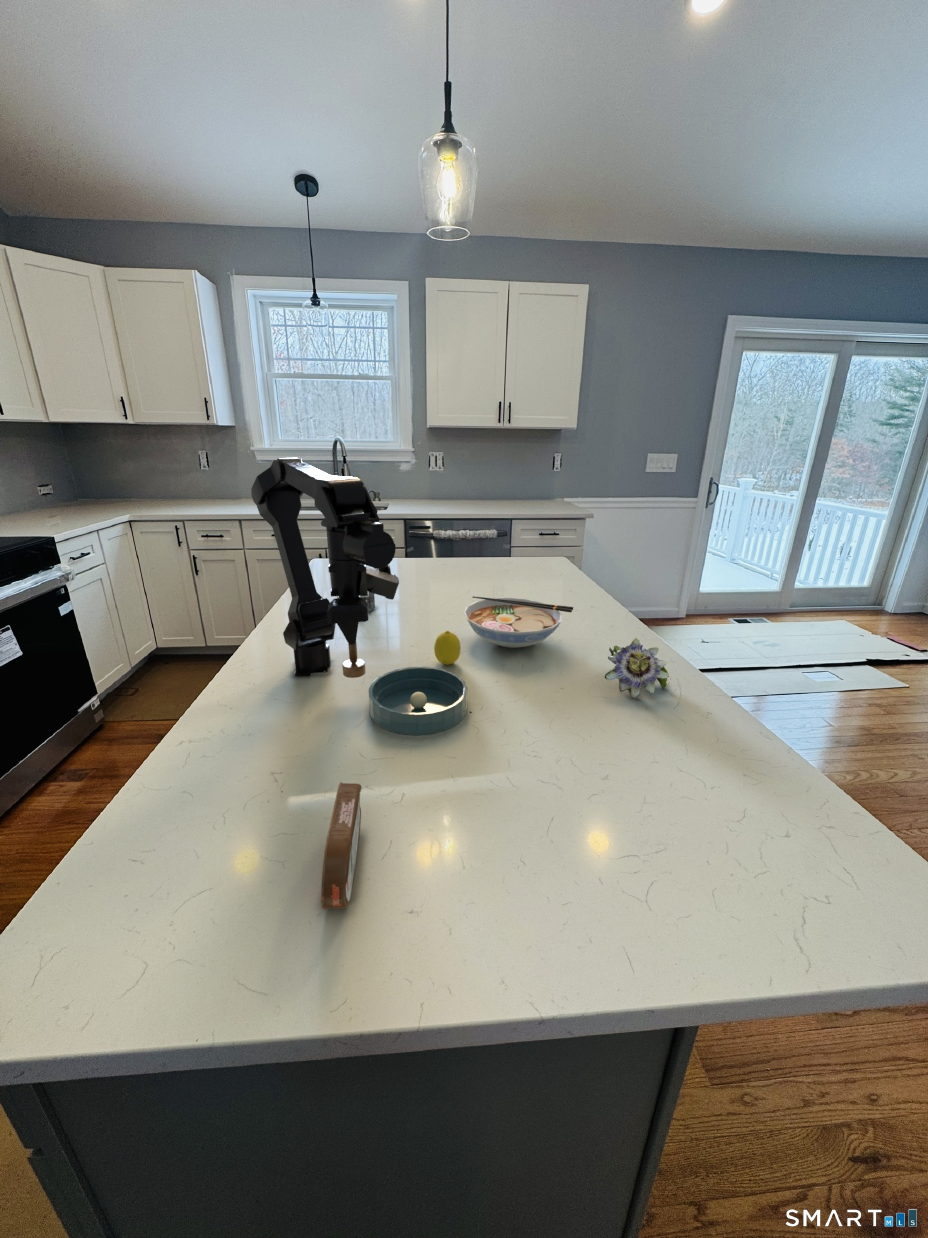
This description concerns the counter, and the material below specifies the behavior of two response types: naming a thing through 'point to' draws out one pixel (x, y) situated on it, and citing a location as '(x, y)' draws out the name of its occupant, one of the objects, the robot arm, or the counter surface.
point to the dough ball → (418, 700)
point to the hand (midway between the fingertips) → (352, 642)
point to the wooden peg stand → (353, 664)
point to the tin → (341, 847)
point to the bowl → (401, 717)
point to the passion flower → (637, 668)
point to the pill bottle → (370, 601)
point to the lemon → (447, 648)
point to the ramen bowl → (514, 620)
